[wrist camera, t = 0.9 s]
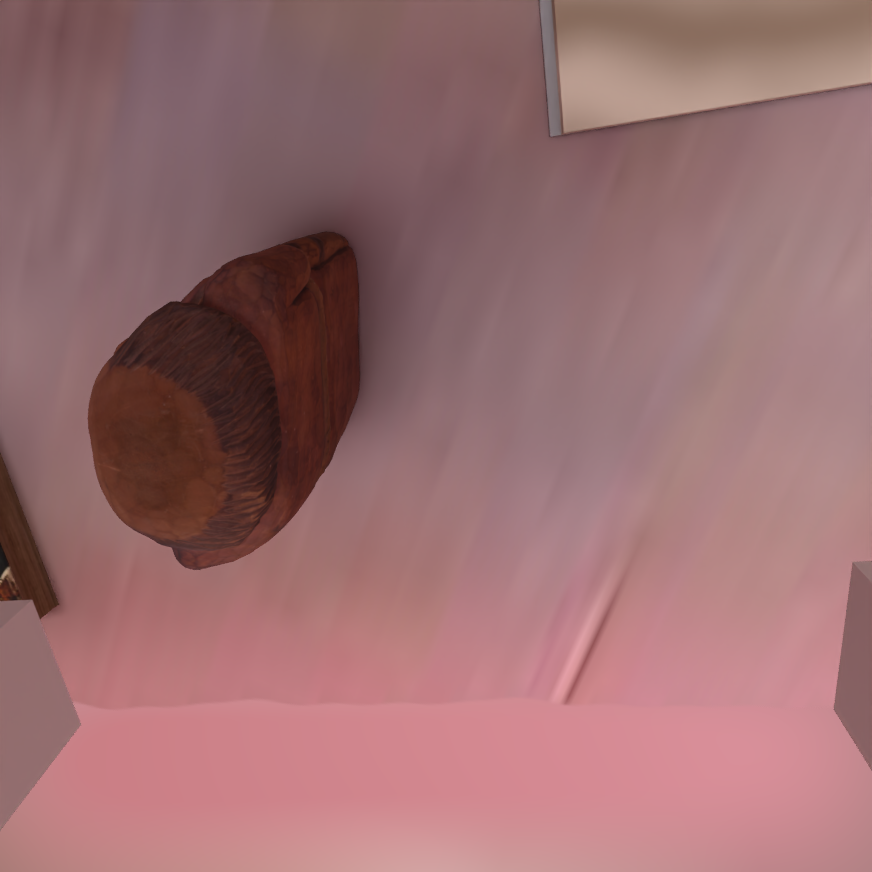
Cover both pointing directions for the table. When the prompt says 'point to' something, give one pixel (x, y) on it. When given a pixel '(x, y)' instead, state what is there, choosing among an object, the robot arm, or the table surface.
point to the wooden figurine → (231, 401)
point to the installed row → (701, 55)
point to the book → (20, 554)
